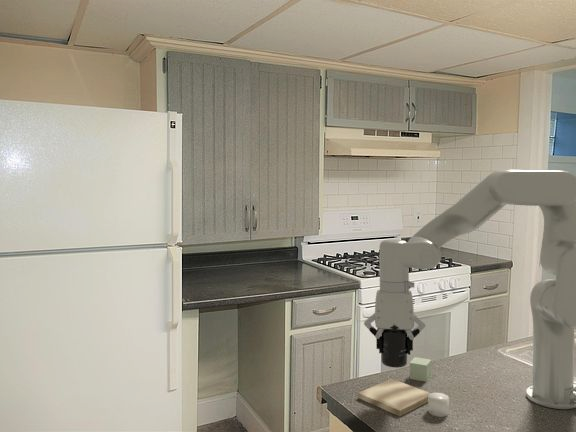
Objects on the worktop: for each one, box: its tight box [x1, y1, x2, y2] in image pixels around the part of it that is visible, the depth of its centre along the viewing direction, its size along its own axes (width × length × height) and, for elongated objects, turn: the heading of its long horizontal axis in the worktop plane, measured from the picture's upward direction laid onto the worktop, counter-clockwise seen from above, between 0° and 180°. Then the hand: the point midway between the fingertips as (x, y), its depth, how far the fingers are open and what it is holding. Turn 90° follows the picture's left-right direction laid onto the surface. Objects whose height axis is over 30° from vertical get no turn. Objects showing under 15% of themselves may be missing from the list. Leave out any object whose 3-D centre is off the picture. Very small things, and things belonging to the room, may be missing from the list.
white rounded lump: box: [427, 392, 450, 418], centre depth 124 cm, size 5×5×4 cm
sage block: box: [409, 356, 432, 383], centre depth 145 cm, size 5×5×5 cm
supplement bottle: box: [380, 325, 408, 369], centre depth 131 cm, size 7×7×12 cm
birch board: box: [357, 378, 432, 417], centre depth 132 cm, size 14×14×2 cm
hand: (394, 351), depth 131 cm, fingers closed on supplement bottle, 6 cm apart
